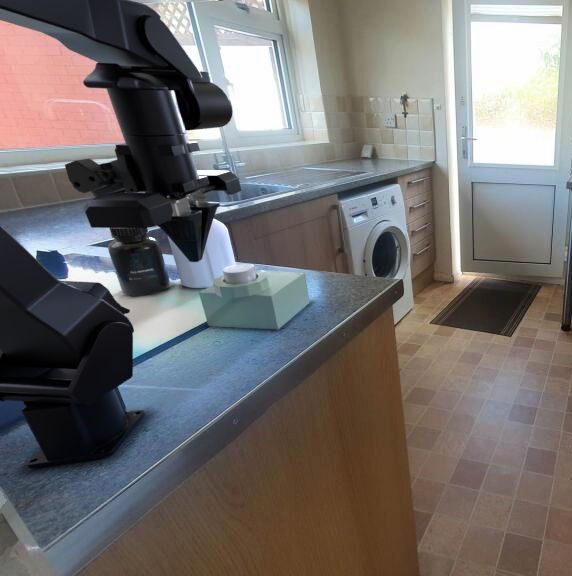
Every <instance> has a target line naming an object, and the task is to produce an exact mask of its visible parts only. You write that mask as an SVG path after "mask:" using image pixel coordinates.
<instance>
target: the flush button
mask: <svg viewBox="0 0 572 576" xmlns="http://www.w3.org/2000/svg"><path fill="white" fill-rule="evenodd" d="M255 270H256V269H255V265H254V264H251V263H238V264H237V263H236V265H232V266H228V267H226V268H224V269H223V274H224V278H225V282H226V283H227V284H240V283H246V282H249V281H253V280H255V279H257V277H256V273H255Z"/></svg>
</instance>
